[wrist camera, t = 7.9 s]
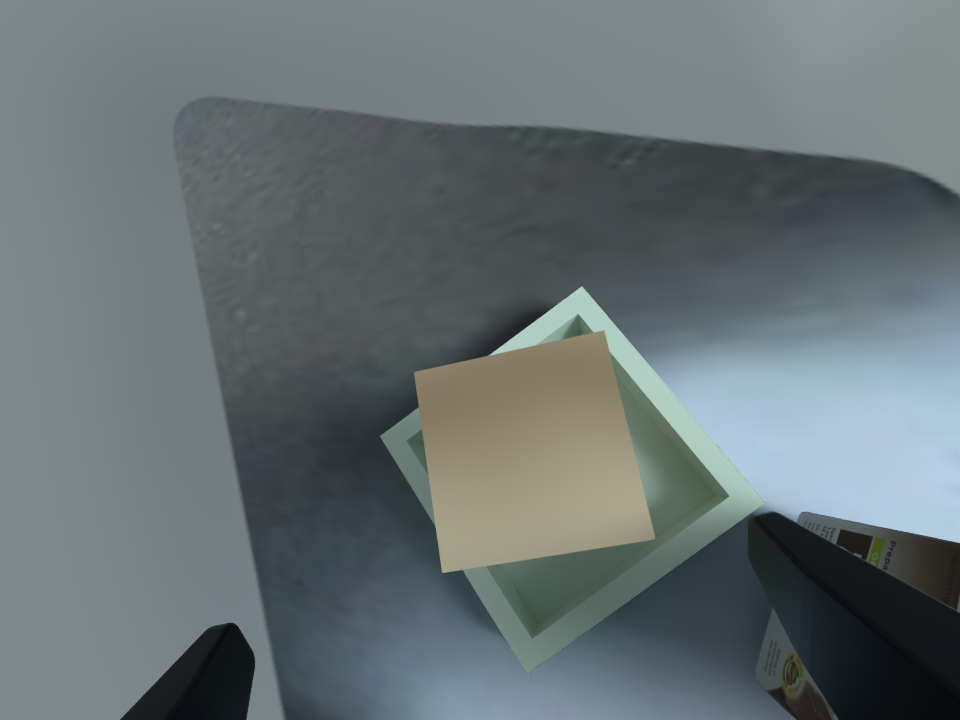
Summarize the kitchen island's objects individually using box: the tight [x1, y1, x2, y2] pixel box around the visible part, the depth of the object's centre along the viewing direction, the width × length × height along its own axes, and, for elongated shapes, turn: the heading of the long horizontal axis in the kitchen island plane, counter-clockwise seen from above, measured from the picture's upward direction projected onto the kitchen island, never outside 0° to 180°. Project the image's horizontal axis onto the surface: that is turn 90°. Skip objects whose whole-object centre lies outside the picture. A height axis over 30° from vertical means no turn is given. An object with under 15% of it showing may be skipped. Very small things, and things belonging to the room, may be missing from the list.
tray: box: [380, 287, 766, 674], centre depth 21 cm, size 10×10×3 cm
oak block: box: [414, 330, 656, 573], centre depth 16 cm, size 4×4×12 cm
